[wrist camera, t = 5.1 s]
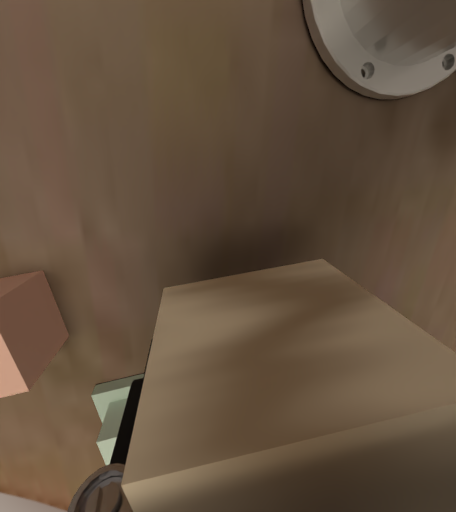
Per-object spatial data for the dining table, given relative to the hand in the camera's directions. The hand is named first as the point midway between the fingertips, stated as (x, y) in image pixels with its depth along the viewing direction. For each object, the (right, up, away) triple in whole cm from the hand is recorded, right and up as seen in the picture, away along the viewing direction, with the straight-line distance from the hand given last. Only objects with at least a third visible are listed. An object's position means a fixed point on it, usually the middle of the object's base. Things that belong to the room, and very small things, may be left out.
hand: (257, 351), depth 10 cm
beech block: (0, 0, +1) cm, 1 cm away
